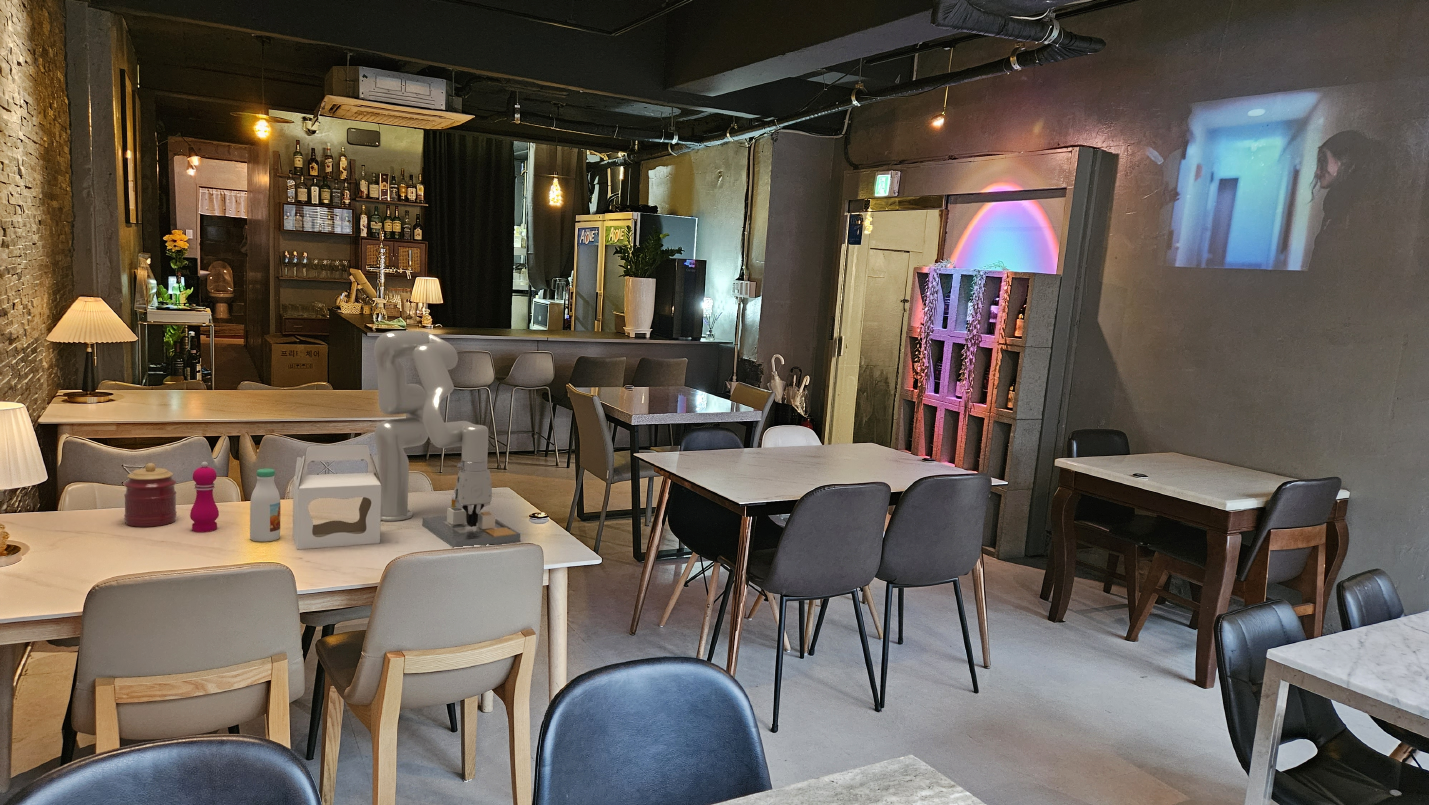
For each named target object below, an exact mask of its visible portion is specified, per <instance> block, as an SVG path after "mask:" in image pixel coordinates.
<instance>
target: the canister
mask: <svg viewBox="0 0 1429 805" xmlns="http://www.w3.org/2000/svg"><path fill="white" fill-rule="evenodd" d="M173 475H174V473H173V472H172V471H169V470H168V469H166V468H164V467H163V468H162V467H160V468H159V467H157V466H156V464H155V463H152V462H148V463H147V464H145V467H144V468H140V469H139V468H138V469H135V470H133V471H132V472H130V473H129V474H127V478H128V480H126V481H125V482H124V483H123V485H124V487H125V488H126V489H125V493H124V496H123V497H124V515H123V516H124V518H123V519H124V521H125V524H126V525H127V526H131V527H139V528H147V527H148V528H149V527H150V528H151V527H159V526H165V525H166V526H167V525H168V524H172V523H174V522H175V521H176V518H177V504H176V503H177V498H176V497H177V491H176V490H175V489H176V488H175V485H176V484H177V480H176V479H174V478H173Z"/></svg>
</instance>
